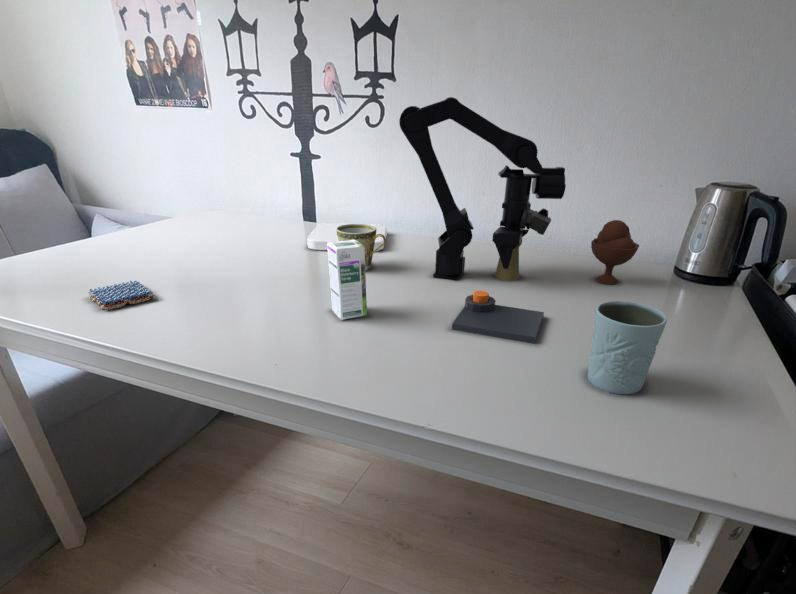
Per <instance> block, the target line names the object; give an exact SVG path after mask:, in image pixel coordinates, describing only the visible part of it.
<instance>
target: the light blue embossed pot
mask: <svg viewBox="0 0 796 594" xmlns="http://www.w3.org/2000/svg"><path fill="white" fill-rule="evenodd" d="M593 322H594V325H593V326H594V327H593V331H592V332H593V333H592V341H591V347H590V358H589V360H588V368H587V380H588V381H589V383H590V384H592V385H593V386H594V387H596V388H598V389H600V390H602V391H605V392H608V393H610V394H616V395H633V394H636V393H638V392H640V391H641V390H642V388H643V386H644V383H645V381H646V379H647V375H648V372H649V370H650V367H651V365H652V362H653V360H654V357H655V354H656V351H657V346H658V345H659V343H660V340H661V337H662V335H663V333H664V331H665V327H666V324H667V322H668V316H667V315H666V314H665V313H664V312H662V311H661V310H659V309H657V308H655V307H653V306H651V305H648V304H644V303H639V302H633V301H625V300H612V301H606V302H602V303H600V304H598V305H597V306H596V308H595V315H594V321H593Z"/></svg>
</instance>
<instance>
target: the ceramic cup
mask: <svg viewBox="0 0 796 594" xmlns="http://www.w3.org/2000/svg"><path fill="white" fill-rule="evenodd" d="M346 224H347V225H342V226H339V227H337V228H336V231H337V236H338V241H348V240H353V239H354V240H356V241H358V242H360V243H361V244H362V245H363V246H364V249H365V272H366V271H368V270H370V269H371V268H372V263H373V256H374V254H375V253H377V252H378V251H377V250H378V249H379V248H381V247H382V246H383V245H384V246H385V244H386V241H387V238H386V239H385V237H384V235H382V234H377V235H376V228H375V227H374V226H371V225H366V224H367V223H346ZM379 236H380V237H382V238H383V239H384V243H383V244H382V245H381V246H379V247H378V248H377V249H376V250H375V251H373V250H374V244H375V239H376V238H377V237H379Z"/></svg>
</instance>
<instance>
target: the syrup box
mask: <svg viewBox="0 0 796 594" xmlns="http://www.w3.org/2000/svg"><path fill="white" fill-rule="evenodd" d="M326 251H327V262H328V263H327V264H328V272H329V285H330V286H329V287H330V299H331V310H332V312H333V314H335V315H336V316H337V317H338V318H339V319H340V320H341V321H345V320H348V319H354V318H360V317H361V318H362V317H367V316H368V306H367V305H368V304H367V302H368V301H367V277H366V271H365V249H364V246H363V245H362V244H361V243H360V242H358V241H356V240H354V239H353V240H348V241H339V242H328V243H327V250H326Z"/></svg>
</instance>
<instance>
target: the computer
mask: <svg viewBox="0 0 796 594" xmlns="http://www.w3.org/2000/svg"><path fill="white" fill-rule="evenodd" d="M347 224H348V223H340V222H324V223H319V224H317V225H316V226H315V227H314V228H313V230H312V231H311V233H310V234H309V235H308V236H307V237H306V243H307V248H308V249H311V250H315V251H327V243H328V242H339V241H338V236H337V231H336V228H337V227H339V226H342V225H347ZM365 224H366V225H371V226H374V227H375V228H376V235H377V234H382V235H384V237H385V239H386V240H387V235H388V226H387V225H384V224H379V223H377V224H375V223H365ZM383 243H384V239H383V238H382V237H380V236H379V237H377V238H376V239H375V244H374V250H373V251H375V250H376V249H377V248H378V247H379V246H381V245H382V244H383ZM384 248H385V244H384V245H383V246H382V247H381V248H379V249H378V250H377V251H376V252H379V251H382V250H384Z"/></svg>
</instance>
